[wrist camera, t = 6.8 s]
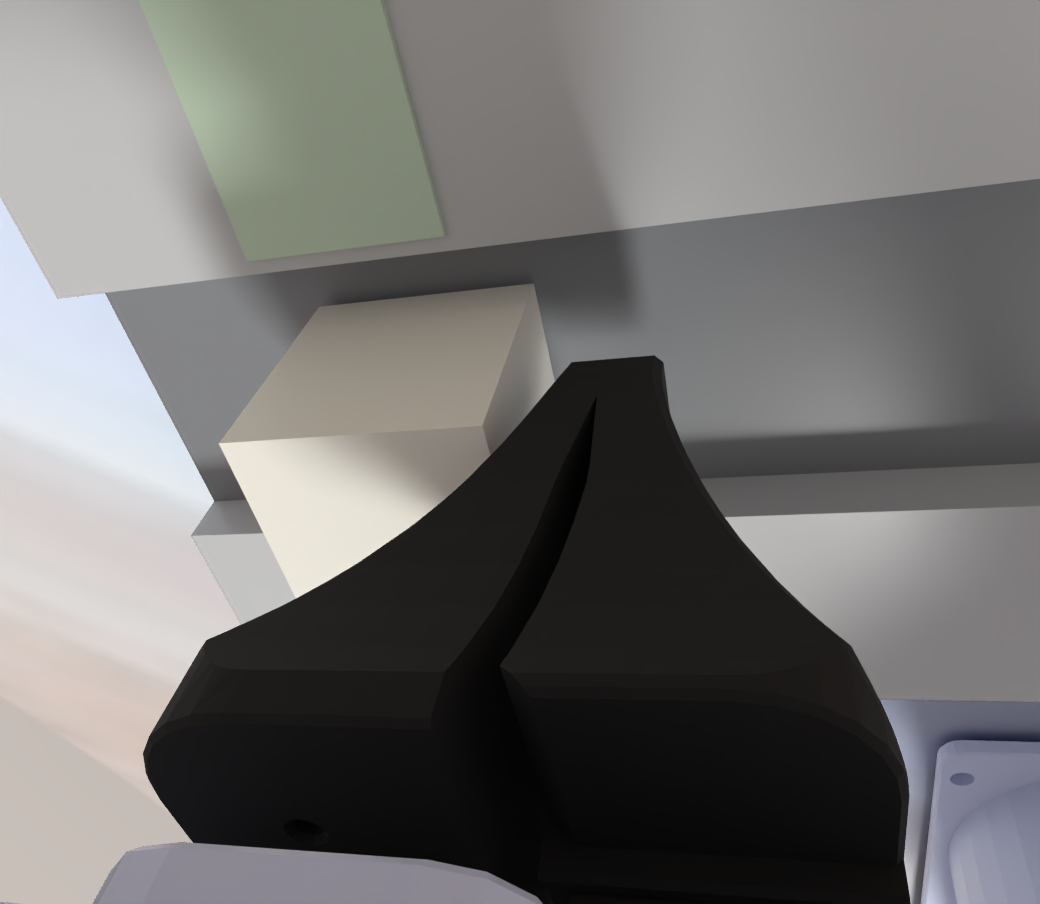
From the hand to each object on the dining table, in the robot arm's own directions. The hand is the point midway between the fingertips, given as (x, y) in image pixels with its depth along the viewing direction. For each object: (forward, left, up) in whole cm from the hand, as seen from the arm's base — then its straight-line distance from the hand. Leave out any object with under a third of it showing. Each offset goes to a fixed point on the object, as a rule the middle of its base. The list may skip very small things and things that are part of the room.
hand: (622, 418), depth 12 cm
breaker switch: (0, +3, -2) cm, 3 cm away
